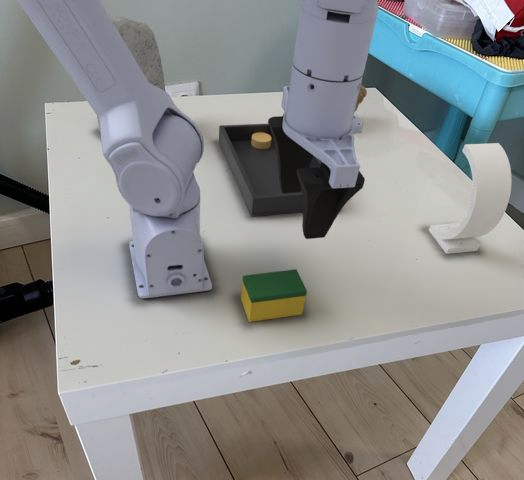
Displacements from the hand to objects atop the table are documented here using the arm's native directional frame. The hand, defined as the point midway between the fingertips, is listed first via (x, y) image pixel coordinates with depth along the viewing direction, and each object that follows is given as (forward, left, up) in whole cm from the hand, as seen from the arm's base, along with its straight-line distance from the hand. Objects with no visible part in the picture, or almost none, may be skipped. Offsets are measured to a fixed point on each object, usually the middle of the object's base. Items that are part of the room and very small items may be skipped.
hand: (302, 212), depth 50 cm
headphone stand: (+4, -24, -10) cm, 26 cm away
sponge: (-3, +3, -9) cm, 10 cm away
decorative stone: (+38, +13, -10) cm, 41 cm away
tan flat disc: (+30, -5, -9) cm, 32 cm away
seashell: (+38, -19, -10) cm, 43 cm away
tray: (+23, -5, -9) cm, 25 cm away
